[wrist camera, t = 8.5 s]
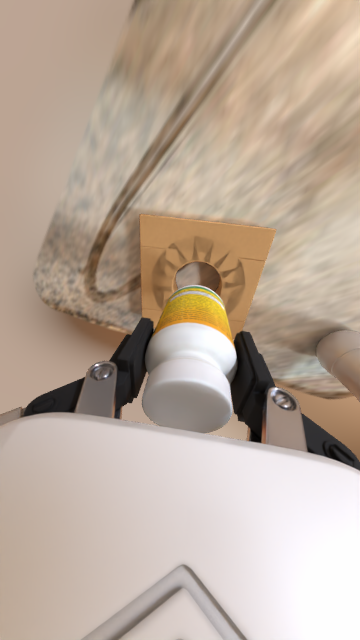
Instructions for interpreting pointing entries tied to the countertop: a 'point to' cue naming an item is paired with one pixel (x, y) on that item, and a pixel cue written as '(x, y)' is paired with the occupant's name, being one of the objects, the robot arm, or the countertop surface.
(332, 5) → the countertop surface
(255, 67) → the countertop surface
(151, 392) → the supplement bottle
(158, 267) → the socket pad
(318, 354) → the plastic bottle
